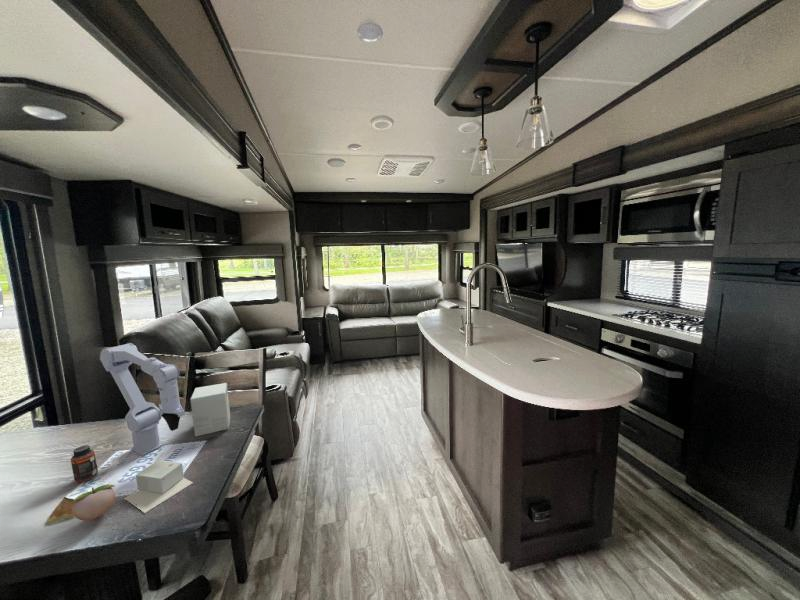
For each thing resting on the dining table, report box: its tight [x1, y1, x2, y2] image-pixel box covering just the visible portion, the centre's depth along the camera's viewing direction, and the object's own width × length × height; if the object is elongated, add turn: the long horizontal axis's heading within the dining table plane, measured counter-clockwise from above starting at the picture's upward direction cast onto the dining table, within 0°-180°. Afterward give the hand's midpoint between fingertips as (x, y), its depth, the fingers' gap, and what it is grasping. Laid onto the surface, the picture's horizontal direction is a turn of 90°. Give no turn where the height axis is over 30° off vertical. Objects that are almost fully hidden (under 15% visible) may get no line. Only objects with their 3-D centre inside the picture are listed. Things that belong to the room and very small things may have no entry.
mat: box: [123, 476, 194, 514], centre depth 103 cm, size 13×14×1 cm
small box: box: [135, 459, 185, 493], centre depth 105 cm, size 8×6×10 cm
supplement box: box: [190, 382, 231, 437], centre depth 141 cm, size 13×13×18 cm
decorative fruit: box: [71, 484, 116, 522], centre depth 92 cm, size 9×8×10 cm
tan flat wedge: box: [46, 496, 75, 525], centre depth 97 cm, size 11×8×2 cm
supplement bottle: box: [70, 444, 99, 483], centre depth 109 cm, size 6×6×11 cm
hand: (174, 429), depth 121 cm, fingers closed
